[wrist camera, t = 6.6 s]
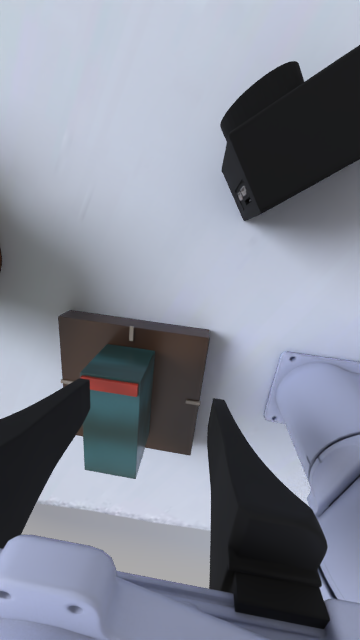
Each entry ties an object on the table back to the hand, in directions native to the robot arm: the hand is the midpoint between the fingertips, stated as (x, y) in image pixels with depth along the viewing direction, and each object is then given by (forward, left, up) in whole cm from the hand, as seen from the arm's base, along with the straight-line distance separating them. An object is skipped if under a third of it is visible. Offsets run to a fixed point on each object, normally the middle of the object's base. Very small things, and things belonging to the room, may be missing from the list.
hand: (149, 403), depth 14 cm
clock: (+4, +6, -10) cm, 13 cm away
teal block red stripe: (+4, +6, -8) cm, 11 cm away
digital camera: (-7, -16, -11) cm, 21 cm away
